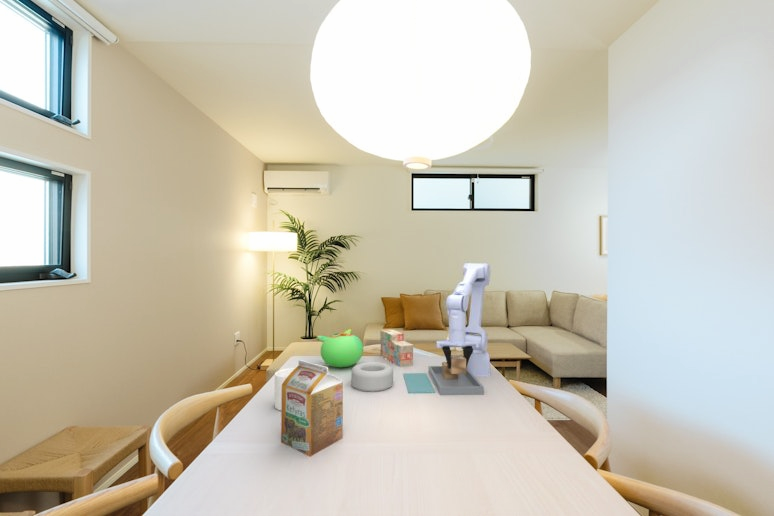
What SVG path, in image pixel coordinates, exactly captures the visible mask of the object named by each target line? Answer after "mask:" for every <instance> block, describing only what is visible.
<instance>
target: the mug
mask: <svg viewBox="0 0 774 516" xmlns="http://www.w3.org/2000/svg"><path fill="white" fill-rule="evenodd" d="M294 369H295V367H293V368H282V369H279V370H276V371H275V373H274V407H275V409H276V410H277V411H280V412H281V407H282V384H283V382H284V381H285V379H286V378H287V377H288V376H289V375H290V373H291V372H292V371H293V370H294Z"/></svg>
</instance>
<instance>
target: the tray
mask: <svg viewBox="0 0 774 516" xmlns="http://www.w3.org/2000/svg"><path fill="white" fill-rule="evenodd" d="M428 375H429V376H430V378H431V381H432V382H433V384H434V386H435V388H436V390H437V393H438V394H439V395H440V396H471V395H472V396H475V395H476V396H479V395H480V396H484V394H485V392H484V391H485V386H483V384H482V382H480V380H478V378H476V376H474V375H473V374H472V373H471V372H470V371H469V370H468V369H466V374H458V379H444V377H443V376H442V365H428Z"/></svg>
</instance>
